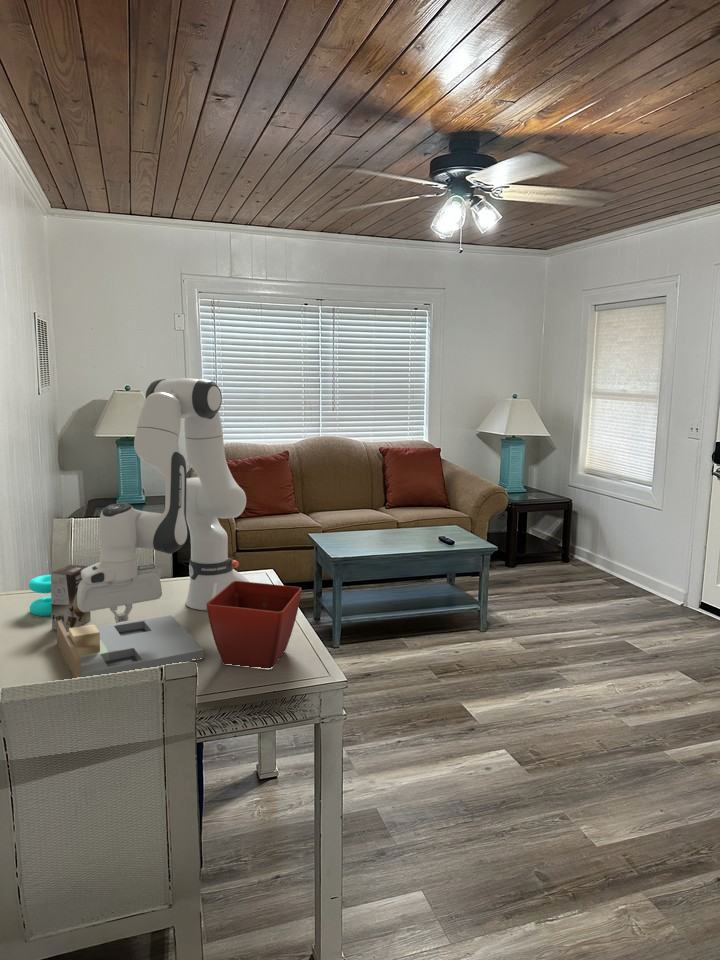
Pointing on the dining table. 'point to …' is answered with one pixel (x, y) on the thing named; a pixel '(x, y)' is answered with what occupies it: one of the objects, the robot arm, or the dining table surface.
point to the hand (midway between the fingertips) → (121, 621)
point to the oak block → (85, 639)
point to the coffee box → (67, 597)
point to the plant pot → (253, 622)
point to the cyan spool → (43, 604)
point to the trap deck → (131, 647)
